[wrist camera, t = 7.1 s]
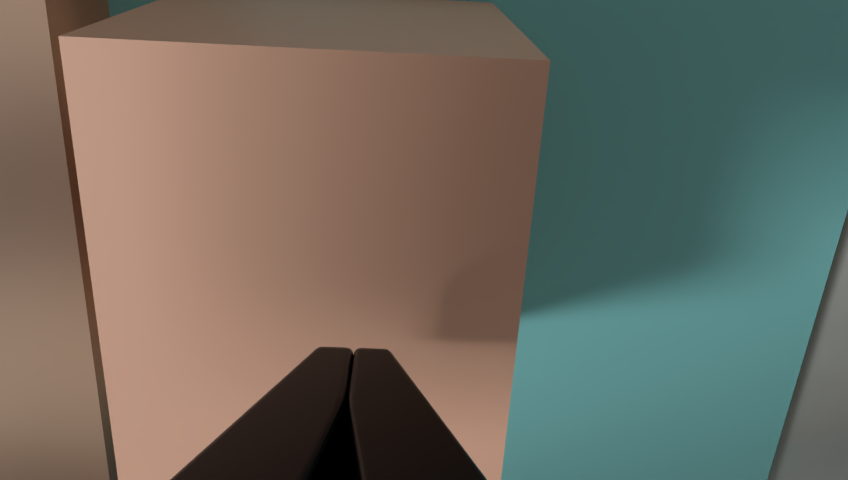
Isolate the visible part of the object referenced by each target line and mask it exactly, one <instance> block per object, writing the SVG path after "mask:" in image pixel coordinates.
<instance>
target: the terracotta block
mask: <svg viewBox="0 0 848 480" xmlns="http://www.w3.org/2000/svg"><path fill="white" fill-rule="evenodd" d="M58 37H59V45H60V52H61V59H62V67H63V74H64V82H65V89H66V97H67V104H68V111H69V119H70V126H71V134H72V141H73V149H74V156H75V163H76V171H77V178H78V186H79V193H80V201H81V208H82V215H83V223H84V230H85V238H86V245H87V253H88V260H89V267H90V275H91V282H92V290H93V297H94V305H95V312H96V319H97V327H98V334H99V342H100V349H101V356H102V364H103V371H104V379H105V386H106V394H107V401H108V408H109V416H110V423H111V431H112V438H113V446H114V453H115V460H116V468H117V475H118V480H170V479H171V478H172V477H173V476H175V475H176V474H177V473H178V472H179V471H180V470H181V469H182V468H184V467H185V466H186V465H187V464H188V463H189V462H190V461H191V460H192V459H194V458H195V457H196V456H197V455H198V454H199V453H200V452H201V451H202V450H204V449H205V448H206V447H207V446H208V445H209V444H210V443H211V442H213V441H214V440H215V439H216V438H217V437H218V436H219V435H220V434H221V433H223V432H224V431H225V430H226V429H227V428H228V427H229V426H230V425H232V424H233V423H234V422H235V421H236V420H237V419H238V418H239V417H240V416H242V415H243V414H244V413H245V412H246V411H247V410H248V409H249V408H250V407H252V406H253V405H254V404H255V403H256V402H257V401H258V400H259V399H261V398H262V397H263V396H264V395H265V394H266V393H267V392H268V391H269V390H271V389H272V388H273V387H274V386H275V385H276V384H277V383H278V382H280V381H281V380H282V379H283V378H284V377H285V376H286V375H287V374H288V373H290V372H291V371H292V370H293V369H294V368H295V367H296V366H297V365H298V364H300V363H301V362H302V361H303V360H304V359H305V358H306V357H307V356H309V355H310V354H311V353H312V352H313V351H314V350H315V349H317V348H318V347H347V348H350V349H351V350H352V351H353V355H354V352H355V350H356V349H358V348H377V349H388V350H389V351H390V352H391V353H392V354H393V355H394V357H395V358H396V359H397V361H398V362H399V363H400V365H401V366H402V367H403V369H404V370H405V371H406V373H407V374H408V375H409V377H410V378H411V379H412V381H413V382H414V383H415V385H416V386H417V387H418V389H419V390H420V391H421V393H422V394H423V395H424V397H425V398H426V399H427V401H428V402H429V403H430V404H431V406H432V407H433V408H434V410H435V411H436V412H437V414H438V415H439V416H440V418H441V419H442V420H443V422H444V423H445V424H446V426H447V427H448V428H449V430H450V431H451V432H452V434H453V435H454V436H455V438H456V439H457V440H458V442H459V443H460V444H461V446H462V447H463V448H464V450H465V451H466V452H467V454H468V455H469V456H470V458H471V459H472V460H473V462H474V463H475V464H476V466H477V467H478V468H479V470H480V471H481V472H482V474H483V475H484V476H485V478H486V479H487V480H501V475H502V467H503V458H504V450H505V441H506V433H507V424H508V416H509V407H510V399H511V390H512V382H513V373H514V365H515V356H516V348H517V339H518V331H519V322H520V314H521V305H522V297H523V289H524V280H525V272H526V263H527V255H528V246H529V238H530V229H531V221H532V212H533V204H534V195H535V187H536V178H537V170H538V161H539V153H540V144H541V136H542V127H543V119H544V110H545V102H546V93H547V85H548V76H549V68H550V60H549V59H548V58H547V57H546V56H545V55H544V54H543V53H542V52H541V51H540V50H539V49H538V48H537V47H536V46H535V45H534V44H533V43H532V42H531V41H530V40H529V39H528V38H527V37H526V36H525V35H524V34H523V33H522V32H521V31H520V30H519V29H518V28H517V27H516V26H515V25H514V24H513V23H512V22H511V21H510V20H509V19H508V18H507V17H506V16H505V15H504V14H503V13H502V12H501V11H500V10H499V9H498V8H497V7H496V6H495V5H494V4H493V3H488V2H469V1H450V0H157V1H154V2H152V3H149V4H146V5H143V6H140V7H138V8H135V9H132V10H129V11H127V12H124V13H121V14H118V15H116V16H113V17H110V18H107V19H104V20H102V21H99V22H96V23H93V24H91V25H88V26H85V27H82V28H79V29H77V30H74V31H71V32H68V33H66V34H63V35H60V36H58Z"/></svg>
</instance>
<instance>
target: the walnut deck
mask: <svg viewBox="0 0 848 480" xmlns="http://www.w3.org/2000/svg"><path fill="white" fill-rule="evenodd" d="M107 18H110V14H109V4H108V0H0V480H118V475H117V468H116V460H115V453H114V446H113V438H112V431H111V423H110V416H109V408H108V401H107V394H106V386H105V379H104V371H103V364H102V356H101V349H100V342H99V334H98V327H97V319H96V312H95V305H94V297H93V290H92V282H91V275H90V267H89V260H88V253H87V245H86V238H85V230H84V223H83V215H82V208H81V201H80V193H79V186H78V178H77V171H76V163H75V156H74V149H73V141H72V134H71V126H70V119H69V111H68V104H67V97H66V89H65V82H64V74H63V67H62V59H61V52H60V45H59V37H58V36H60V35H63V34H66V33H68V32H71V31H74V30H77V29H79V28H82V27H85V26H88V25H91V24H93V23H96V22H99V21H102V20H104V19H107Z"/></svg>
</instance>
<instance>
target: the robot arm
mask: <svg viewBox="0 0 848 480" xmlns="http://www.w3.org/2000/svg"><path fill="white" fill-rule="evenodd" d="M170 480H487V479H486V478H485V476H484V475H483V474H482V472H481V471H480V470H479V468H478V467H477V466H476V464H475V463H474V462H473V460H472V459H471V458H470V456H469V455H468V454H467V452H466V451H465V450H464V448H463V447H462V446H461V444H460V443H459V442H458V440H457V439H456V438H455V436H454V435H453V434H452V432H451V431H450V430H449V428H448V427H447V426H446V424H445V423H444V422H443V420H442V419H441V418H440V416H439V415H438V414H437V412H436V411H435V410H434V408H433V407H432V406H431V404H430V403H429V402H428V401H427V399H426V398H425V397H424V395H423V394H422V393H421V391H420V390H419V389H418V387H417V386H416V385H415V383H414V382H413V381H412V379H411V378H410V377H409V375H408V374H407V373H406V371H405V370H404V369H403V367H402V366H401V365H400V363H399V362H398V361H397V359H396V358H395V357H394V355H393V354H392V353H391V352H390V351H389V350H388V349H377V348H358V349H356V350H355V352H354V355H353V351H352V350H351V349H350V348H347V347H318V348H317V349H315V350H314V351H313V352H312V353H311V354H310V355H309V356H307V357H306V358H305V359H304V360H303V361H302V362H301V363H300V364H298V365H297V366H296V367H295V368H294V369H293V370H292V371H291V372H290V373H288V374H287V375H286V376H285V377H284V378H283V379H282V380H281V381H280V382H278V383H277V384H276V385H275V386H274V387H273V388H272V389H271V390H269V391H268V392H267V393H266V394H265V395H264V396H263V397H262V398H261V399H259V400H258V401H257V402H256V403H255V404H254V405H253V406H252V407H250V408H249V409H248V410H247V411H246V412H245V413H244V414H243V415H242V416H240V417H239V418H238V419H237V420H236V421H235V422H234V423H233V424H232V425H230V426H229V427H228V428H227V429H226V430H225V431H224V432H223V433H221V434H220V435H219V436H218V437H217V438H216V439H215V440H214V441H213V442H211V443H210V444H209V445H208V446H207V447H206V448H205V449H204V450H202V451H201V452H200V453H199V454H198V455H197V456H196V457H195V458H194V459H192V460H191V461H190V462H189V463H188V464H187V465H186V466H185V467H184V468H182V469H181V470H180V471H179V472H178V473H177V474H176V475H175V476H173V477H172V478H171V479H170Z"/></svg>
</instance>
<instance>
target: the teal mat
mask: <svg viewBox="0 0 848 480" xmlns="http://www.w3.org/2000/svg"><path fill="white" fill-rule="evenodd" d="M154 1H157V0H108V4H109V14H110V17H113V16H116V15H118V14H121V13H124V12H127V11H129V10H132V9H135V8H138V7H140V6H143V5H146V4H149V3H152V2H154ZM450 1H469V2H488V3H493V4H494V5H495V6H496V7H497V8H498V9H499V10H500V11H501V12H502V13H503V14H504V15H505V16H506V17H507V18H508V19H509V20H510V21H511V22H512V23H513V24H514V25H515V26H516V27H517V28H518V29H519V30H520V31H521V32H522V33H523V34H524V35H525V36H526V37H527V38H528V39H529V40H530V41H531V42H532V43H533V44H534V45H535V46H536V47H537V48H538V49H539V50H540V51H541V52H542V53H543V54H544V55H545V56H546V57H547V58H548V59H549V60H550V68H549V76H548V85H547V93H546V102H545V110H544V119H543V127H542V136H541V144H540V153H539V161H538V170H537V178H536V187H535V195H534V204H533V212H532V221H531V229H530V238H529V246H528V255H527V263H526V272H525V280H524V289H523V297H522V305H521V314H520V322H519V331H518V339H517V348H516V356H515V365H514V373H513V382H512V390H511V399H510V407H509V416H508V424H507V433H506V441H505V450H504V458H503V467H502V475H501V480H767V479H768V475H769V472H770V469H771V465H772V462H773V459H774V455H775V452H776V449H777V445H778V442H779V439H780V435H781V432H782V429H783V425H784V422H785V419H786V415H787V412H788V408H789V405H790V402H791V398H792V395H793V392H794V388H795V385H796V382H797V378H798V375H799V372H800V368H801V365H802V362H803V358H804V355H805V352H806V348H807V345H808V342H809V338H810V335H811V331H812V328H813V325H814V321H815V318H816V315H817V311H818V308H819V305H820V301H821V298H822V295H823V291H824V288H825V285H826V281H827V278H828V275H829V271H830V268H831V265H832V261H833V258H834V254H835V251H836V248H837V244H838V241H839V238H840V234H841V231H842V228H843V224H844V221H845V218H846V214H847V211H848V0H450Z"/></svg>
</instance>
